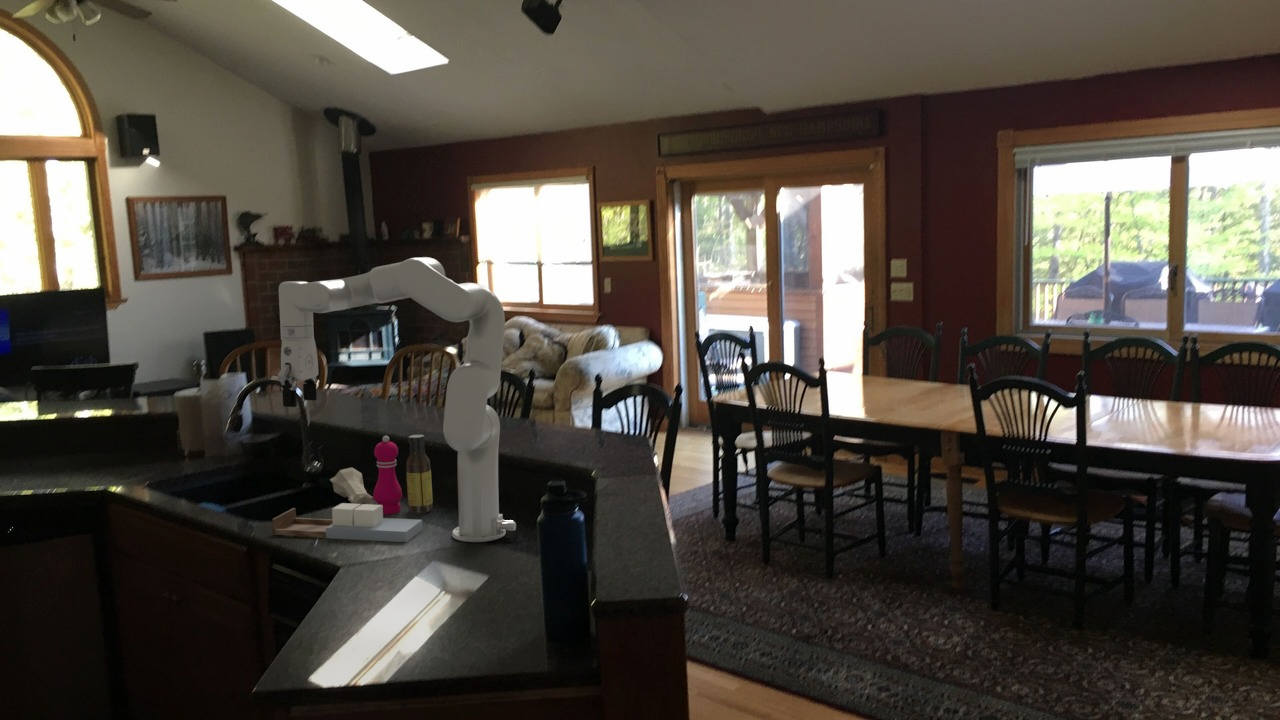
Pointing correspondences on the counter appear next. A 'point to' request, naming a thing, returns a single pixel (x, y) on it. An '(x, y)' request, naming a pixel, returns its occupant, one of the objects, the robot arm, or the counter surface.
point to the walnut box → (300, 525)
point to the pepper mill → (387, 477)
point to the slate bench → (378, 530)
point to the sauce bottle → (418, 477)
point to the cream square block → (344, 514)
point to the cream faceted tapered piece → (351, 486)
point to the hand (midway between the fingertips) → (300, 403)
